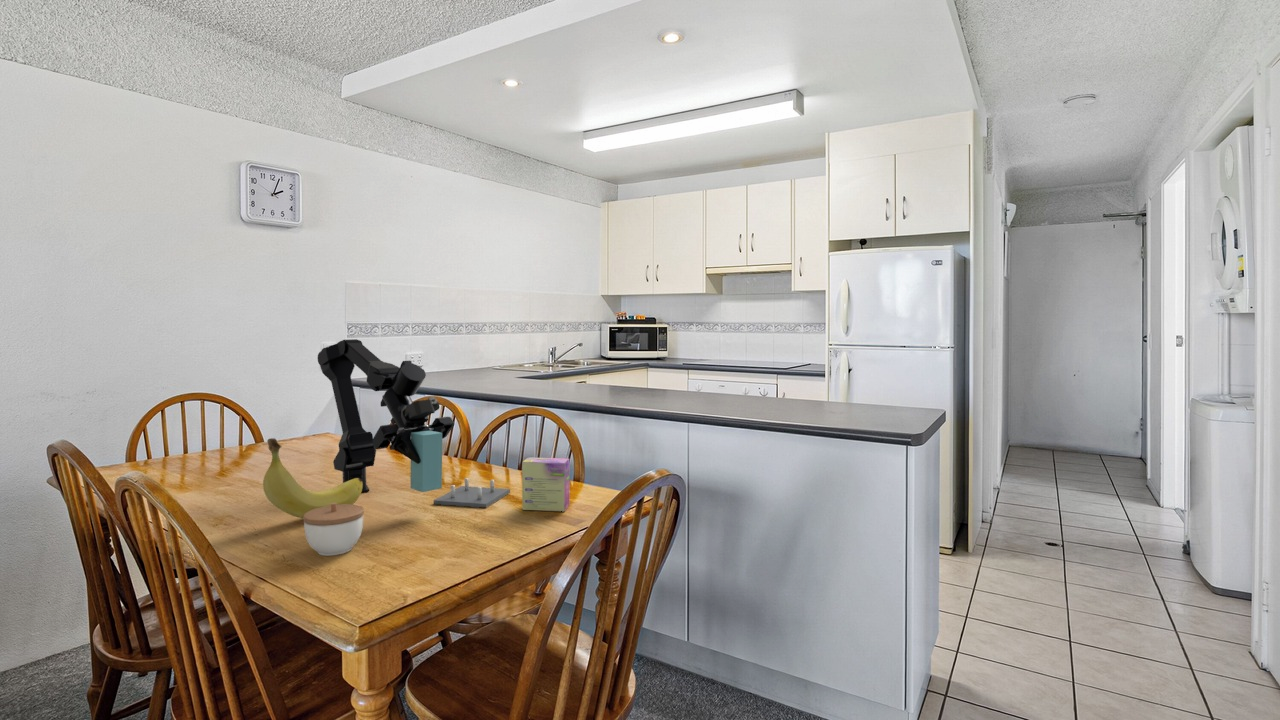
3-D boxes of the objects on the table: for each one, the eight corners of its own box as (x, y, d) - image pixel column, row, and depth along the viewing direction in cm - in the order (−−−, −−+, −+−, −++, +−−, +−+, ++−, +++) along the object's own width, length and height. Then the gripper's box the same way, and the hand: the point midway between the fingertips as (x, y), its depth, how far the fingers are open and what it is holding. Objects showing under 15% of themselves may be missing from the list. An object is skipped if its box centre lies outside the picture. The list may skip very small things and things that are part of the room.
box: (570, 505, 160) (569, 457, 159) (565, 512, 154) (564, 462, 153) (528, 504, 161) (528, 456, 160) (522, 510, 155) (521, 461, 154)
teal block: (410, 488, 151) (410, 432, 150) (429, 484, 155) (430, 430, 154) (422, 492, 148) (423, 435, 147) (441, 488, 152) (442, 433, 151)
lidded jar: (342, 562, 122) (341, 513, 122) (291, 558, 124) (290, 510, 124) (375, 542, 133) (374, 497, 132) (328, 539, 135) (326, 495, 134)
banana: (355, 504, 160) (353, 423, 159) (369, 508, 157) (367, 426, 155) (259, 529, 141) (256, 438, 140) (273, 534, 138) (270, 440, 137)
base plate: (433, 504, 160) (433, 488, 160) (461, 489, 174) (461, 474, 173) (486, 508, 157) (485, 491, 157) (510, 492, 171) (510, 477, 170)
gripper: (377, 390, 145) (406, 445, 139) (449, 383, 160) (478, 433, 154) (360, 421, 151) (387, 476, 144) (431, 412, 165) (458, 461, 159)
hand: (429, 460), depth 150 cm, fingers closed on teal block, 5 cm apart
